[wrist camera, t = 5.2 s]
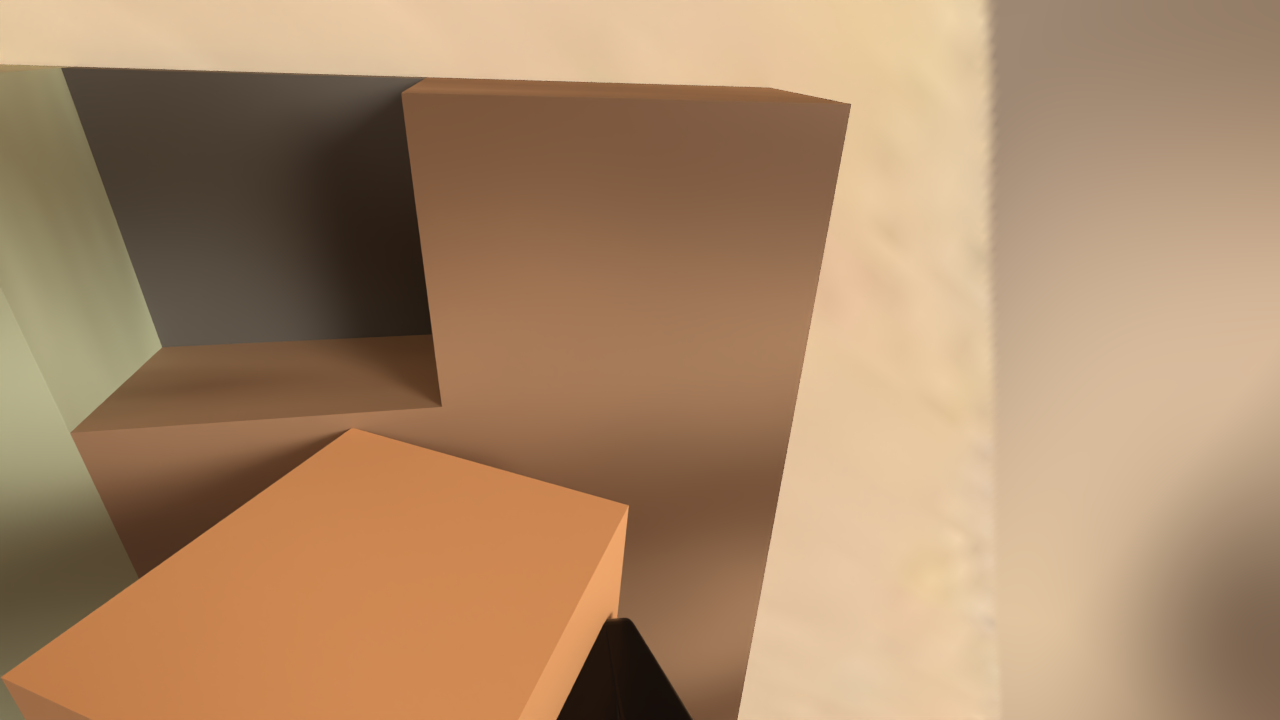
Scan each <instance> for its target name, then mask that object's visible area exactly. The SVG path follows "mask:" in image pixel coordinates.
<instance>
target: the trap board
mask: <svg viewBox="0 0 1280 720" xmlns="http://www.w3.org/2000/svg"><path fill="white" fill-rule="evenodd" d="M850 107H851V104H847V103H842V102H837V101H832V100H827V99H823V98H818V97H813V96H808V95H803V94H798V93H793V92H788V91H783V90H778V89H773V88H761V87H728V86H695V85H661V84H628V83H595V82H562V81H528V80H495V79H462V78H429V77H396V76H362V75H329V74H296V73H263V72H230V71H196V70H163V69H130V68H97V67H64V66H30V65H0V720H25V718H24V716H23V715H22V713H21V711H20V709H19V708H18V706H17V704H16V703H15V701H14V699H13V697H12V696H11V694H10V692H9V690H8V689H7V687H6V685H5V684H4V682H3V680H2V678H1V677H2V676H3V675H5V674H6V673H8V672H9V671H10V670H12V669H13V668H15V667H16V666H17V665H19V664H20V663H22V662H23V661H25V660H26V659H27V658H29V657H30V656H32V655H33V654H34V653H36V652H37V651H39V650H40V649H41V648H43V647H44V646H46V645H47V644H48V643H50V642H51V641H53V640H54V639H55V638H57V637H58V636H60V635H61V634H63V633H64V632H65V631H67V630H68V629H70V628H71V627H72V626H74V625H75V624H77V623H78V622H79V621H81V620H82V619H84V618H85V617H86V616H88V615H89V614H91V613H92V612H93V611H95V610H96V609H98V608H99V607H101V606H102V605H103V604H105V603H106V602H108V601H109V600H110V599H112V598H113V597H115V596H116V595H117V594H119V593H120V592H122V591H123V590H124V589H126V588H127V587H129V586H130V585H131V584H133V583H134V582H136V581H137V580H139V579H140V578H141V577H143V576H144V575H146V574H147V573H148V572H150V571H151V570H153V569H154V568H155V567H157V566H158V565H160V564H161V563H162V562H164V561H165V560H167V559H168V558H169V557H171V556H172V555H174V554H175V553H177V552H178V551H179V550H181V549H182V548H184V547H185V546H186V545H188V544H189V543H191V542H192V541H193V540H195V539H196V538H198V537H199V536H200V535H202V534H203V533H205V532H206V531H207V530H209V529H210V528H212V527H213V526H215V525H216V524H217V523H219V522H220V521H222V520H223V519H224V518H226V517H227V516H229V515H230V514H231V513H233V512H234V511H236V510H237V509H238V508H240V507H241V506H243V505H244V504H245V503H247V502H248V501H250V500H251V499H253V498H254V497H255V496H257V495H258V494H260V493H261V492H262V491H264V490H265V489H267V488H268V487H269V486H271V485H272V484H274V483H275V482H276V481H278V480H279V479H281V478H282V477H283V476H285V475H286V474H288V473H289V472H291V471H292V470H293V469H295V468H296V467H298V466H299V465H300V464H302V463H303V462H305V461H306V460H307V459H309V458H310V457H312V456H313V455H314V454H316V453H317V452H319V451H320V450H322V449H323V448H324V447H326V446H327V445H329V444H330V443H331V442H333V441H334V440H336V439H337V438H338V437H340V436H341V435H343V434H344V433H345V432H347V431H348V430H350V429H351V428H355V429H359V430H362V431H366V432H369V433H373V434H377V435H380V436H384V437H387V438H391V439H394V440H398V441H401V442H405V443H409V444H412V445H416V446H419V447H423V448H426V449H430V450H433V451H437V452H441V453H444V454H448V455H451V456H455V457H458V458H462V459H465V460H469V461H473V462H476V463H480V464H483V465H487V466H490V467H494V468H497V469H501V470H505V471H508V472H512V473H515V474H519V475H522V476H526V477H529V478H533V479H537V480H540V481H544V482H547V483H551V484H554V485H558V486H561V487H565V488H569V489H572V490H576V491H579V492H583V493H586V494H590V495H593V496H597V497H601V498H604V499H608V500H611V501H615V502H618V503H622V504H625V505H629V508H628V518H627V528H626V537H625V547H624V557H623V566H622V576H621V586H620V595H619V605H618V615H617V618H625V617H626V618H629V619H631V620H632V622H633V623H634V624H635V626H636V628H637V629H638V631H639V632H640V634H641V636H642V637H643V639H644V640H645V642H646V644H647V645H648V647H649V648H650V650H651V652H652V653H653V655H654V657H655V658H656V660H657V661H658V663H659V665H660V666H661V668H662V669H663V671H664V673H665V674H666V676H667V677H668V679H669V681H670V682H671V684H672V686H673V687H674V689H675V690H676V692H677V694H678V695H679V697H680V698H681V700H682V702H683V703H684V705H685V706H686V708H687V710H688V711H689V713H690V715H691V716H692V718H693V719H694V720H737V718H738V713H739V707H740V702H741V697H742V691H743V686H744V680H745V675H746V670H747V664H748V659H749V653H750V648H751V643H752V637H753V632H754V626H755V621H756V616H757V610H758V605H759V599H760V594H761V589H762V583H763V578H764V572H765V567H766V561H767V556H768V551H769V545H770V540H771V534H772V529H773V524H774V518H775V513H776V507H777V502H778V497H779V491H780V486H781V480H782V475H783V470H784V464H785V459H786V453H787V448H788V443H789V437H790V432H791V426H792V421H793V416H794V410H795V405H796V399H797V394H798V389H799V383H800V378H801V372H802V367H803V362H804V356H805V351H806V345H807V340H808V334H809V329H810V324H811V318H812V313H813V307H814V302H815V297H816V291H817V286H818V280H819V275H820V270H821V264H822V259H823V253H824V248H825V243H826V237H827V232H828V226H829V221H830V216H831V210H832V205H833V199H834V194H835V189H836V183H837V178H838V172H839V167H840V162H841V156H842V151H843V145H844V140H845V134H846V129H847V124H848V118H849V113H850Z"/></svg>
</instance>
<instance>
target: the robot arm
mask: <svg viewBox="0 0 1280 720" xmlns="http://www.w3.org/2000/svg"><path fill="white" fill-rule="evenodd" d="M556 720H694V719H693V718H692V716H691V715H690V713H689V711H688V710H687V708H686V706H685V705H684V703H683V702H682V700H681V698H680V697H679V695H678V694H677V692H676V690H675V689H674V687H673V686H672V684H671V682H670V681H669V679H668V677H667V676H666V674H665V673H664V671H663V669H662V668H661V666H660V665H659V663H658V661H657V660H656V658H655V657H654V655H653V653H652V652H651V650H650V648H649V647H648V645H647V644H646V642H645V640H644V639H643V637H642V636H641V634H640V632H639V631H638V629H637V628H636V626H635V624H634V623H633V622H632V620H631V619H629V618H626V617H625V618H613V619H607V620H606V621H605V622H604V624H603V626H602V628H601V630H600V632H599V634H598V636H597V638H596V640H595V642H594V644H593V646H592V648H591V650H590V652H589V654H588V656H587V658H586V660H585V663H584V665H583V667H582V669H581V671H580V673H579V675H578V677H577V679H576V681H575V683H574V685H573V687H572V689H571V691H570V693H569V695H568V697H567V699H566V701H565V703H564V705H563V707H562V709H561V711H560V713H559V715H558V717H557V719H556Z"/></svg>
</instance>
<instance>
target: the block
mask: <svg viewBox="0 0 1280 720" xmlns="http://www.w3.org/2000/svg"><path fill="white" fill-rule="evenodd" d="M628 508H629V505H625V504H622V503H618V502H615V501H611V500H608V499H604V498H601V497H597V496H593V495H590V494H586V493H583V492H579V491H576V490H572V489H569V488H565V487H561V486H558V485H554V484H551V483H547V482H544V481H540V480H537V479H533V478H529V477H526V476H522V475H519V474H515V473H512V472H508V471H505V470H501V469H497V468H494V467H490V466H487V465H483V464H480V463H476V462H473V461H469V460H465V459H462V458H458V457H455V456H451V455H448V454H444V453H441V452H437V451H433V450H430V449H426V448H423V447H419V446H416V445H412V444H409V443H405V442H401V441H398V440H394V439H391V438H387V437H384V436H380V435H377V434H373V433H369V432H366V431H362V430H359V429H355V428H351V429H350V430H348V431H347V432H345V433H344V434H343V435H341V436H340V437H338V438H337V439H336V440H334V441H333V442H331V443H330V444H329V445H327V446H326V447H324V448H323V449H322V450H320V451H319V452H317V453H316V454H314V455H313V456H312V457H310V458H309V459H307V460H306V461H305V462H303V463H302V464H300V465H299V466H298V467H296V468H295V469H293V470H292V471H291V472H289V473H288V474H286V475H285V476H283V477H282V478H281V479H279V480H278V481H276V482H275V483H274V484H272V485H271V486H269V487H268V488H267V489H265V490H264V491H262V492H261V493H260V494H258V495H257V496H255V497H254V498H253V499H251V500H250V501H248V502H247V503H245V504H244V505H243V506H241V507H240V508H238V509H237V510H236V511H234V512H233V513H231V514H230V515H229V516H227V517H226V518H224V519H223V520H222V521H220V522H219V523H217V524H216V525H215V526H213V527H212V528H210V529H209V530H207V531H206V532H205V533H203V534H202V535H200V536H199V537H198V538H196V539H195V540H193V541H192V542H191V543H189V544H188V545H186V546H185V547H184V548H182V549H181V550H179V551H178V552H177V553H175V554H174V555H172V556H171V557H169V558H168V559H167V560H165V561H164V562H162V563H161V564H160V565H158V566H157V567H155V568H154V569H153V570H151V571H150V572H148V573H147V574H146V575H144V576H143V577H141V578H140V579H139V580H137V581H136V582H134V583H133V584H131V585H130V586H129V587H127V588H126V589H124V590H123V591H122V592H120V593H119V594H117V595H116V596H115V597H113V598H112V599H110V600H109V601H108V602H106V603H105V604H103V605H102V606H101V607H99V608H98V609H96V610H95V611H93V612H92V613H91V614H89V615H88V616H86V617H85V618H84V619H82V620H81V621H79V622H78V623H77V624H75V625H74V626H72V627H71V628H70V629H68V630H67V631H65V632H64V633H63V634H61V635H60V636H58V637H57V638H55V639H54V640H53V641H51V642H50V643H48V644H47V645H46V646H44V647H43V648H41V649H40V650H39V651H37V652H36V653H34V654H33V655H32V656H30V657H29V658H27V659H26V660H25V661H23V662H22V663H20V664H19V665H17V666H16V667H15V668H13V669H12V670H10V671H9V672H8V673H6V674H5V675H3V676H2V677H1V678H2V680H3V682H4V684H5V685H6V687H7V689H8V690H9V692H10V694H11V696H12V697H13V699H14V701H15V703H16V704H17V706H18V708H19V709H20V711H21V713H22V715H23V716H24V718H25V720H556V719H557V717H558V715H559V713H560V711H561V709H562V707H563V705H564V703H565V701H566V699H567V697H568V695H569V693H570V691H571V689H572V687H573V685H574V683H575V681H576V679H577V677H578V675H579V673H580V671H581V669H582V667H583V665H584V663H585V660H586V658H587V656H588V654H589V652H590V650H591V648H592V646H593V644H594V642H595V640H596V638H597V636H598V634H599V632H600V630H601V628H602V626H603V624H604V622H605V621H606V620H607V619H613V618H617V615H618V605H619V595H620V586H621V576H622V566H623V557H624V547H625V537H626V528H627V518H628Z"/></svg>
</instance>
